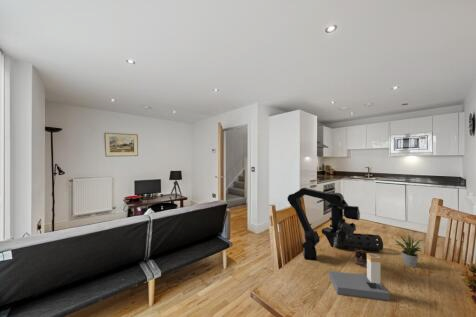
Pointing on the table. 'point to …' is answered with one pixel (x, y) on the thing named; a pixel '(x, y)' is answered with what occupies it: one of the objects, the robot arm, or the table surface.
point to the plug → (373, 268)
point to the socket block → (357, 286)
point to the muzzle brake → (360, 241)
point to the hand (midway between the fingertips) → (337, 245)
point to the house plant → (409, 251)
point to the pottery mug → (359, 254)
